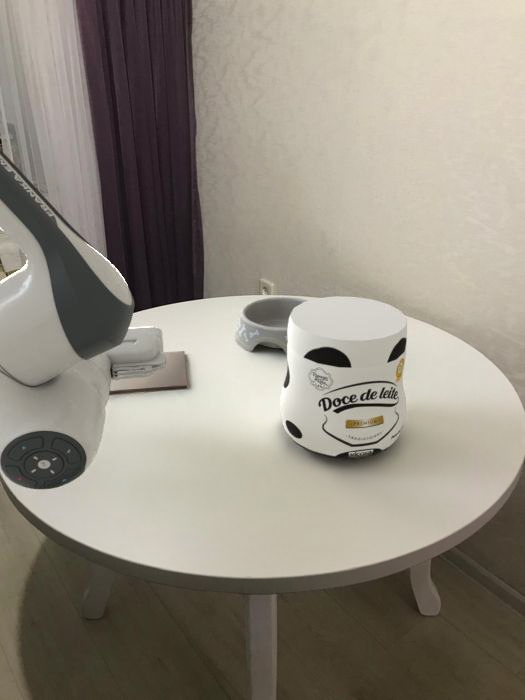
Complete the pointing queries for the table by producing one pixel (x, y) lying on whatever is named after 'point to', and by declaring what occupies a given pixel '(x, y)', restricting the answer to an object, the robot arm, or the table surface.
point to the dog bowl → (266, 322)
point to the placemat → (156, 377)
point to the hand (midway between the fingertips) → (84, 327)
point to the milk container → (344, 376)
